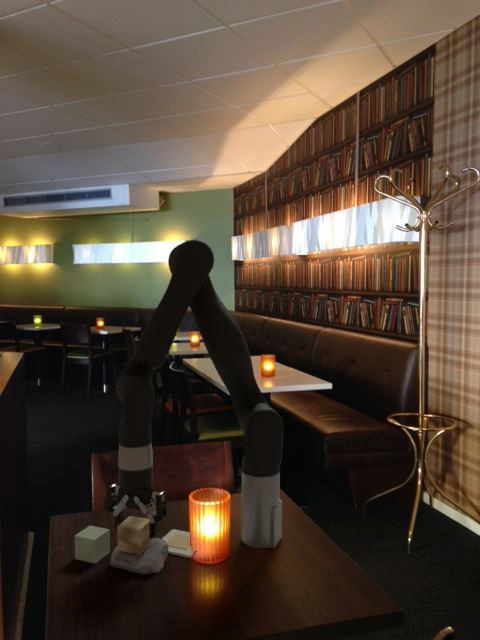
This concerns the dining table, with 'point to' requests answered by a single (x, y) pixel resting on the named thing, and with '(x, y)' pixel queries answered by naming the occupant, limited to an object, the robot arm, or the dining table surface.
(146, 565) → the stone block
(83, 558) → the sage green cube
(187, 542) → the card
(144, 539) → the maple cube
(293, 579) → the dining table surface
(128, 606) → the dining table surface
